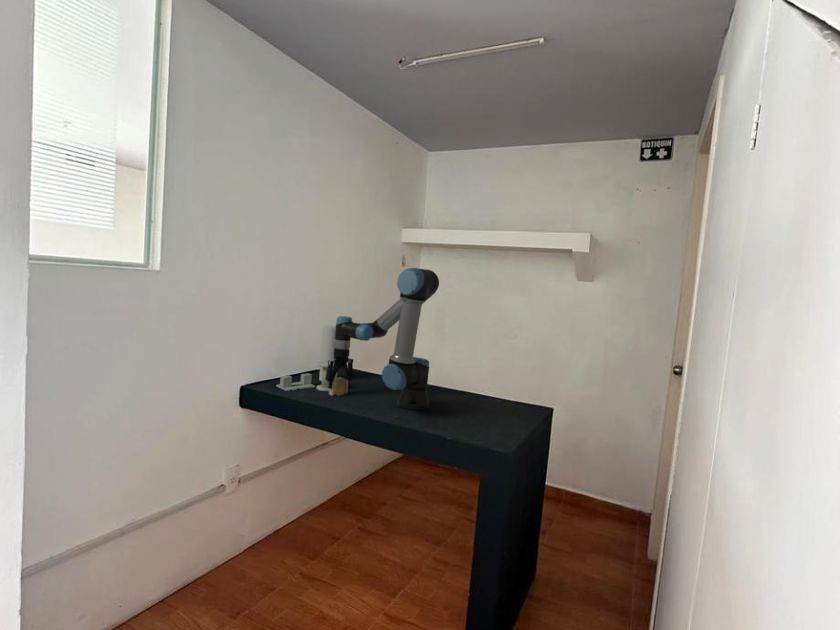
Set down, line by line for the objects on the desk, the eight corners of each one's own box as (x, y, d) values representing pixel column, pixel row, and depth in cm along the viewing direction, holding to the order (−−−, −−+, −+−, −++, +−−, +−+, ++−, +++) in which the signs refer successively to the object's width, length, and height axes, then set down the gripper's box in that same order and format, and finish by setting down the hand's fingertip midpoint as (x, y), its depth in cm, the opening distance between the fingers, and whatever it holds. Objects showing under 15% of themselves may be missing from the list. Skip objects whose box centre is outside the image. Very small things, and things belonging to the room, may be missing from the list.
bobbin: (338, 389, 227) (340, 364, 226) (323, 392, 221) (325, 366, 220) (327, 385, 233) (329, 361, 232) (312, 387, 227) (314, 362, 226)
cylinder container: (316, 380, 243) (320, 325, 240) (324, 376, 252) (328, 324, 249) (331, 382, 240) (335, 327, 238) (339, 379, 249) (343, 326, 247)
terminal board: (314, 387, 228) (315, 376, 228) (286, 391, 217) (287, 379, 216) (304, 382, 235) (304, 371, 235) (276, 386, 223) (277, 374, 223)
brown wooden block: (344, 394, 220) (345, 378, 219) (337, 395, 217) (338, 379, 216) (339, 392, 222) (340, 377, 222) (332, 393, 220) (333, 377, 219)
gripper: (353, 345, 228) (350, 389, 230) (319, 347, 213) (316, 394, 215) (363, 348, 223) (359, 393, 225) (329, 350, 208) (325, 398, 210)
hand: (338, 393), depth 220 cm, fingers open, 8 cm apart
